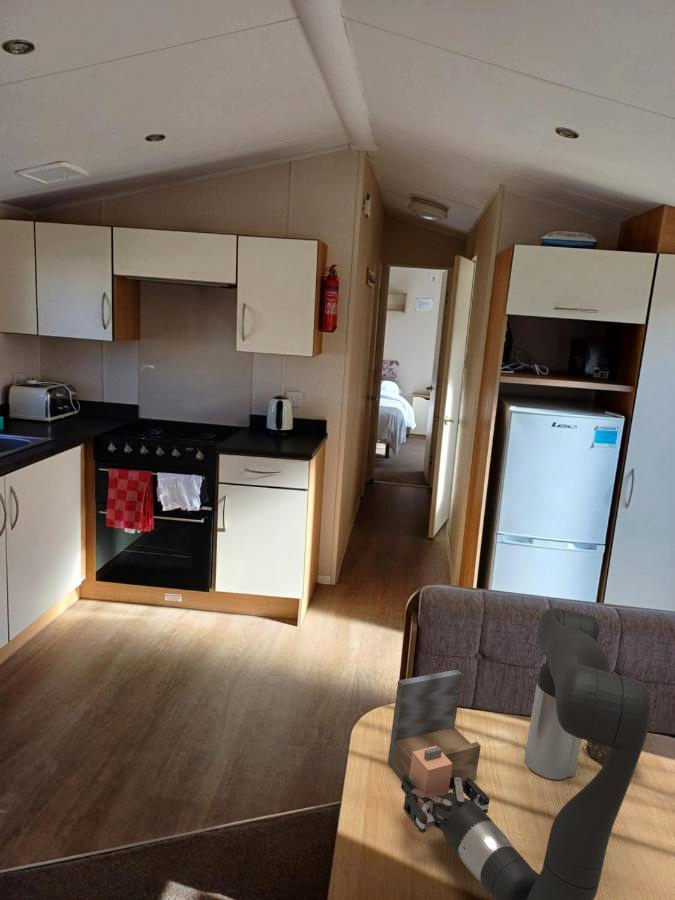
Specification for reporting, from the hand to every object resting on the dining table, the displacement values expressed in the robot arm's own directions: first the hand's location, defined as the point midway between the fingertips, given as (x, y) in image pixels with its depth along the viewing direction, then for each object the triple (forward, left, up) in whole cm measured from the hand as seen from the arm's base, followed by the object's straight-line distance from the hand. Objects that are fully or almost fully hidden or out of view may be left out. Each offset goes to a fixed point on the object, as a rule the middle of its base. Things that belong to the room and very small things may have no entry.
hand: (422, 774), depth 116 cm
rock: (-40, -22, -7) cm, 47 cm away
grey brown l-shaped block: (-3, -10, -7) cm, 13 cm away
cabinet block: (-1, +2, -7) cm, 7 cm away
